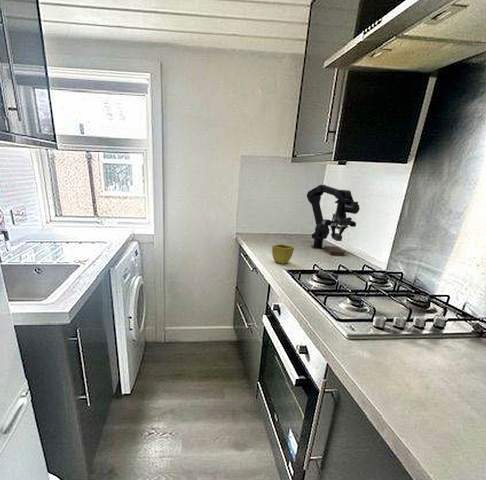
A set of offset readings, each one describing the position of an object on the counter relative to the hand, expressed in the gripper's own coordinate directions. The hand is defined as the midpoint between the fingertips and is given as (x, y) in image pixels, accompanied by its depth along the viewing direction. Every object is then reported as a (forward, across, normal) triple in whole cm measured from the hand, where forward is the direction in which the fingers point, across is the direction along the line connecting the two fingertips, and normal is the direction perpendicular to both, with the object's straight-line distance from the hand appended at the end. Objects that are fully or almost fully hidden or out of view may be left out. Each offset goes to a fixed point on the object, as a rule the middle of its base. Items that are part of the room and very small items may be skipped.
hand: (336, 236), depth 188 cm
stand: (+10, 0, 0) cm, 10 cm away
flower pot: (+10, -38, -30) cm, 49 cm away
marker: (+2, 0, 0) cm, 2 cm away
